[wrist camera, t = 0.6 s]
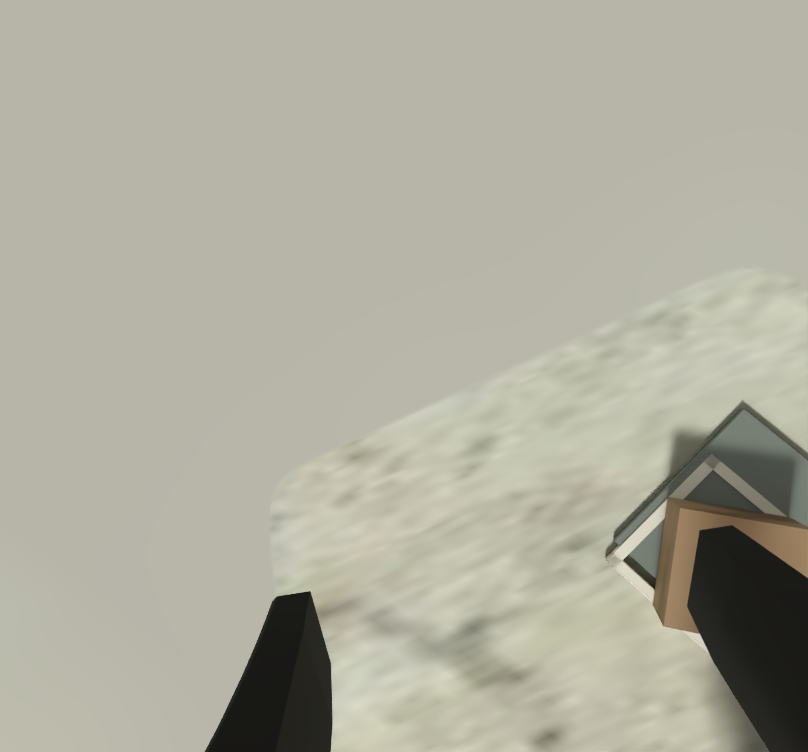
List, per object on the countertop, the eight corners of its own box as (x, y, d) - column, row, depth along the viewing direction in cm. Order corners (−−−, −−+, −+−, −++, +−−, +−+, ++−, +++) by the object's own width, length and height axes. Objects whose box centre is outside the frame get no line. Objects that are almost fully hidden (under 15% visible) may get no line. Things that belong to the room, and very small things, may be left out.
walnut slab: (789, 517, 31) (815, 531, 28) (773, 629, 31) (797, 655, 28) (667, 496, 32) (680, 507, 29) (652, 604, 32) (663, 626, 29)
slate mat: (992, 612, 29) (1000, 615, 29) (825, 758, 31) (829, 764, 30) (741, 408, 32) (744, 409, 31) (599, 552, 33) (600, 555, 33)
